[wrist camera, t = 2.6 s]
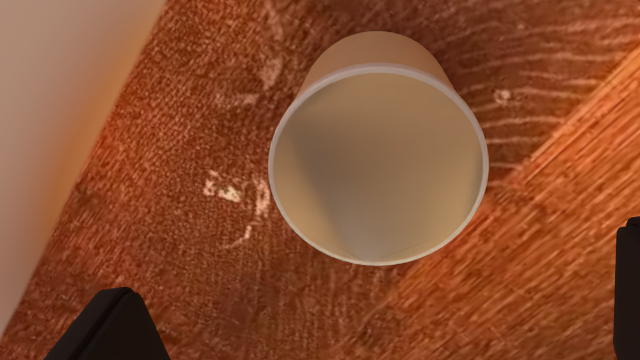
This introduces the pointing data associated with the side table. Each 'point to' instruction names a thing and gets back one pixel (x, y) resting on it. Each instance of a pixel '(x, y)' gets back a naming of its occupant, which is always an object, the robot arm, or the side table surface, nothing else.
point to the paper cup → (378, 153)
